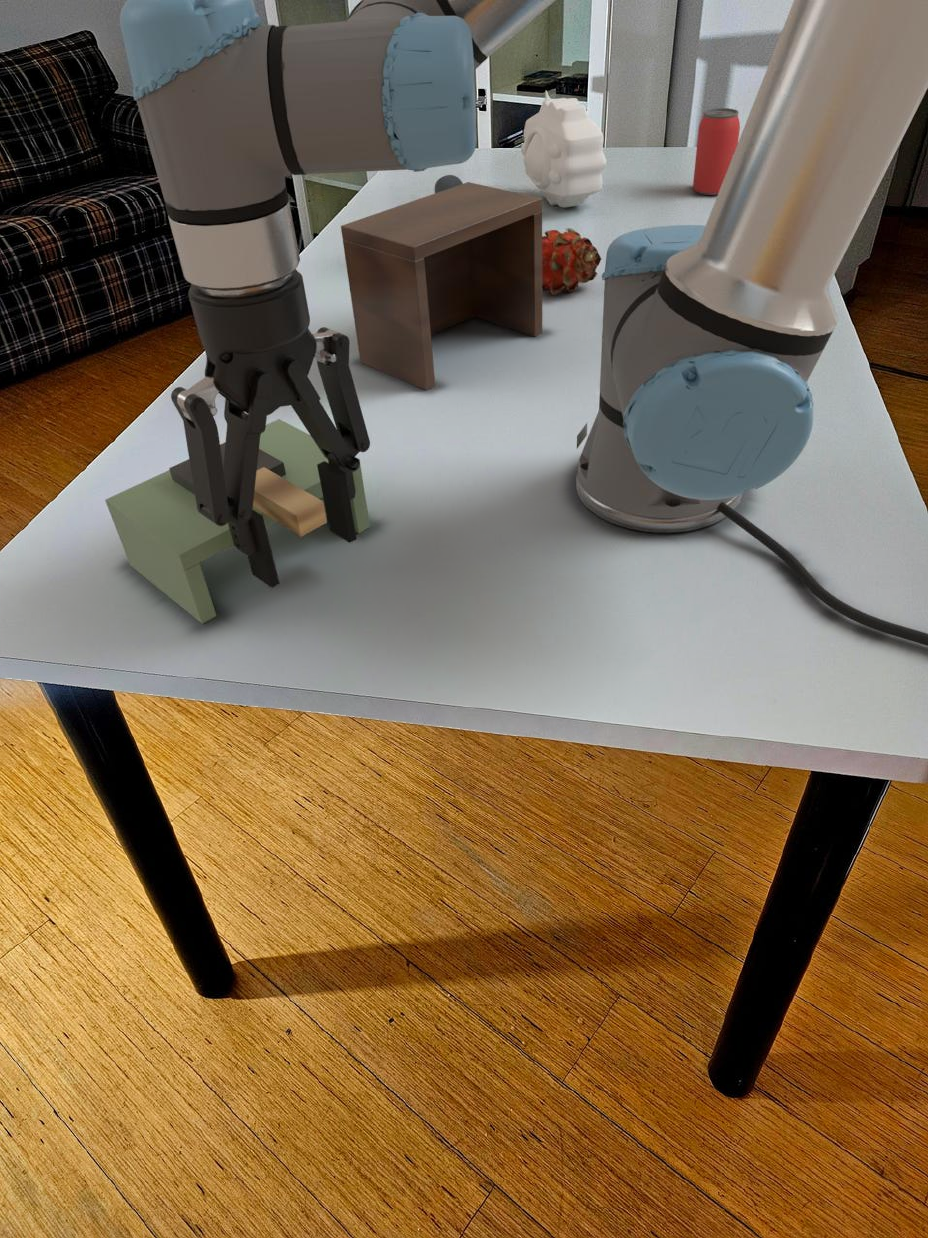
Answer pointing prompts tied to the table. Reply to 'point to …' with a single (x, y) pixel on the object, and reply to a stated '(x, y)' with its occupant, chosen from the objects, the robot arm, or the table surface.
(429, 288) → the wooden side table
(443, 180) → the paintbrush
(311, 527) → the wood-handled square paddle
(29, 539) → the table surface
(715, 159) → the beer can
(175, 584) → the low shelf
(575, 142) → the white ridged figurine
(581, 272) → the dragon fruit
